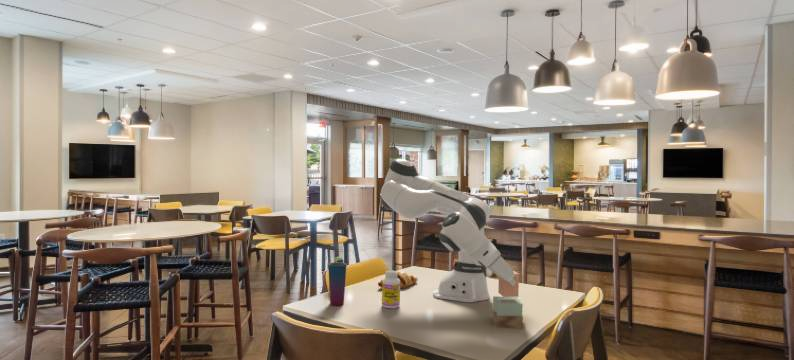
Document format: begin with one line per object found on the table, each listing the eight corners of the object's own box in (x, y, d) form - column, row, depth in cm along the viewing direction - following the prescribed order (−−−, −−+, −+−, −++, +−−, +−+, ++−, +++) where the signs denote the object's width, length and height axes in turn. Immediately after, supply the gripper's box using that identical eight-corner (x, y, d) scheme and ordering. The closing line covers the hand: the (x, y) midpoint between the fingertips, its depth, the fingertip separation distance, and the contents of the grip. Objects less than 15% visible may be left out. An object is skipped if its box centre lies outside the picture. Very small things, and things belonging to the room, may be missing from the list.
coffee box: (333, 286, 192) (334, 256, 191) (340, 286, 192) (341, 256, 192) (336, 291, 184) (336, 260, 184) (343, 291, 185) (343, 259, 184)
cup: (328, 301, 170) (328, 262, 170) (346, 301, 171) (346, 262, 170) (327, 306, 163) (327, 266, 163) (345, 306, 164) (346, 265, 164)
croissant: (412, 289, 203) (407, 272, 206) (426, 283, 196) (421, 265, 199) (374, 295, 190) (370, 277, 193) (387, 289, 183) (383, 270, 186)
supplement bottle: (381, 308, 162) (382, 273, 162) (382, 303, 169) (382, 269, 168) (399, 309, 162) (400, 273, 162) (399, 303, 169) (400, 269, 168)
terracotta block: (503, 296, 146) (504, 274, 146) (498, 292, 151) (498, 270, 151) (518, 296, 146) (518, 273, 146) (512, 292, 151) (513, 270, 151)
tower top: (497, 315, 145) (497, 303, 145) (492, 308, 153) (493, 296, 153) (522, 316, 145) (522, 304, 144) (516, 308, 153) (516, 297, 152)
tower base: (493, 327, 145) (494, 315, 145) (493, 318, 154) (493, 307, 154) (522, 329, 143) (522, 317, 143) (520, 320, 152) (521, 309, 152)
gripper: (467, 253, 157) (493, 280, 159) (485, 265, 137) (515, 296, 138) (479, 240, 158) (505, 268, 159) (499, 251, 137) (529, 282, 139)
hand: (510, 281), depth 149 cm, fingers closed on terracotta block, 5 cm apart
